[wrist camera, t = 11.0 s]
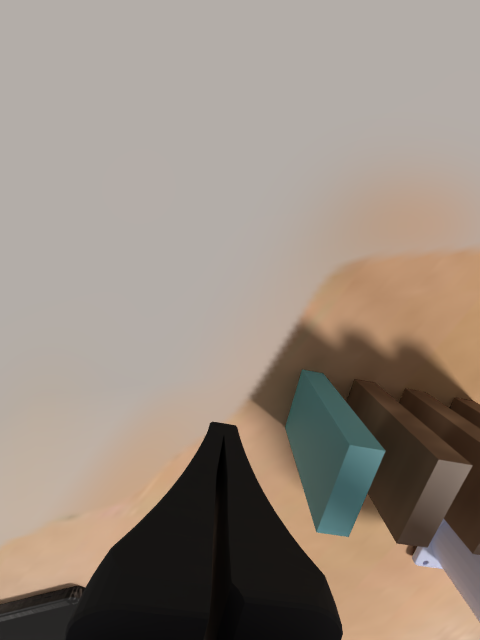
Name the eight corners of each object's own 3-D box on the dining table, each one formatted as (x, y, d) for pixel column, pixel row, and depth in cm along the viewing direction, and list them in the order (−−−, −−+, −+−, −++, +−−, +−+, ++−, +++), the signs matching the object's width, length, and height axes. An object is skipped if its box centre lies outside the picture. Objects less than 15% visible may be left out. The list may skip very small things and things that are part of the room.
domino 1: (375, 382, 16) (472, 465, 10) (353, 438, 18) (427, 547, 11) (354, 379, 16) (438, 459, 10) (334, 435, 17) (396, 543, 11)
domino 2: (425, 392, 17) (554, 479, 10) (400, 446, 18) (501, 558, 11) (405, 388, 17) (522, 473, 10) (382, 443, 18) (472, 554, 11)
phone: (115, 645, 22) (-18, 676, 23) (121, 627, 23) (-7, 657, 24) (79, 594, 20) (-65, 629, 21) (87, 577, 21) (-50, 611, 22)
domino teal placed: (323, 373, 16) (385, 450, 9) (304, 430, 17) (348, 536, 11) (302, 369, 16) (349, 444, 9) (285, 427, 17) (316, 532, 10)
